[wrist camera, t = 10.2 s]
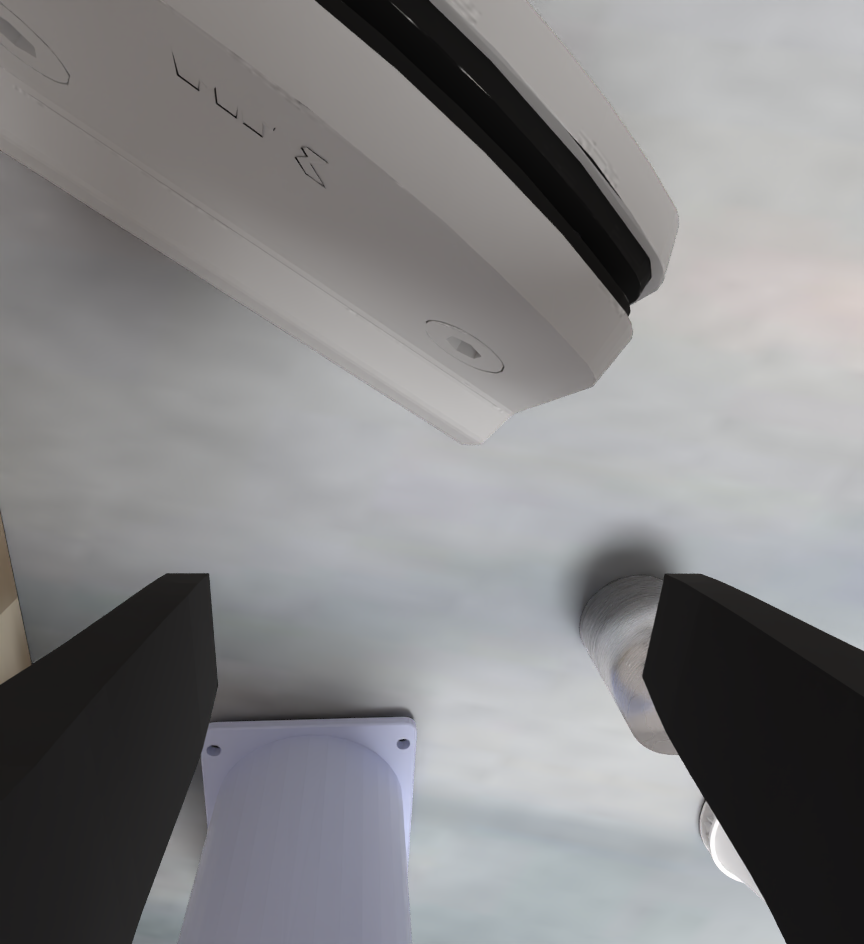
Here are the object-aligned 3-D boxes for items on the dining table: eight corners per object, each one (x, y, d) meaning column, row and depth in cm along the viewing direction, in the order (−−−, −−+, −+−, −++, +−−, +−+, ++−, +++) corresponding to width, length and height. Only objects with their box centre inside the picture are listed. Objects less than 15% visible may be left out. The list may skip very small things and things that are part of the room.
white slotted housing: (-63, 110, 15) (-628, -475, 5) (43, -37, 15) (-304, -820, 6) (471, 451, 20) (682, 465, 10) (540, 329, 20) (804, 232, 10)
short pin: (669, 663, 24) (735, 752, 19) (572, 665, 23) (618, 756, 19) (690, 574, 22) (766, 650, 18) (588, 574, 22) (641, 652, 18)
